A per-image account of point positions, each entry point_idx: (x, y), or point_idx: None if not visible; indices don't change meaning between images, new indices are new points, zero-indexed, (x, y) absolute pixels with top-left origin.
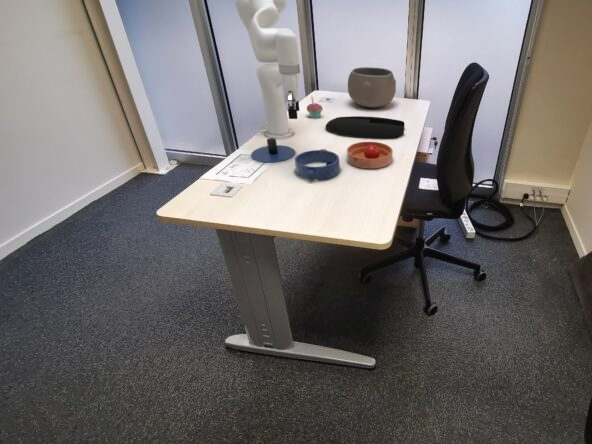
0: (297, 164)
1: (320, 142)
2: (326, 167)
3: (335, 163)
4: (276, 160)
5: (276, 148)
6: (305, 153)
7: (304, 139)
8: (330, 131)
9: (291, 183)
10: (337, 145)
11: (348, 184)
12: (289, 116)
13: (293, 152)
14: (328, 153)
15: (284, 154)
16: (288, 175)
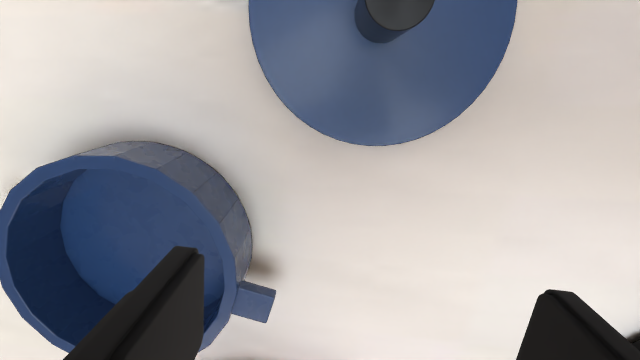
0: (39, 167)
1: (509, 277)
2: (19, 303)
3: (62, 346)
4: (263, 35)
5: (371, 34)
6: (201, 217)
7: (584, 201)
8: (636, 344)
9: (21, 114)
10: (444, 346)
11: (29, 335)
12: (160, 269)
13: (366, 136)
14: (206, 327)
15: (346, 84)
16: (107, 101)
